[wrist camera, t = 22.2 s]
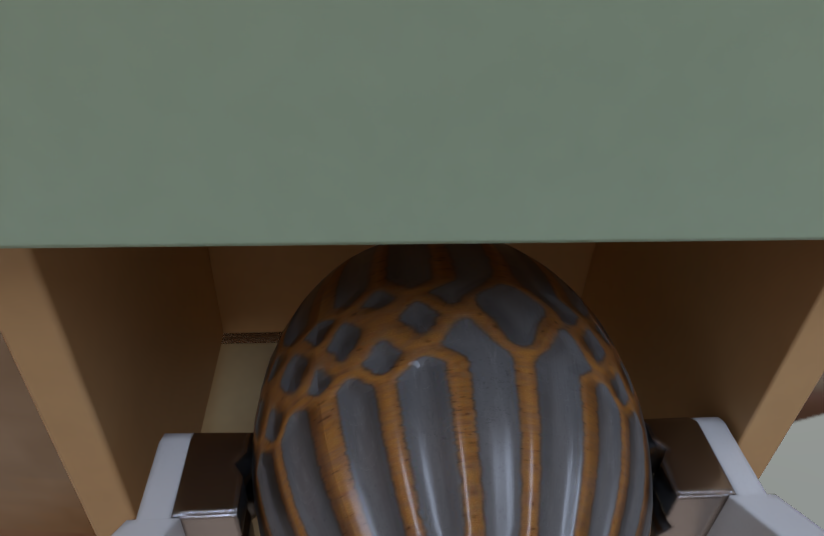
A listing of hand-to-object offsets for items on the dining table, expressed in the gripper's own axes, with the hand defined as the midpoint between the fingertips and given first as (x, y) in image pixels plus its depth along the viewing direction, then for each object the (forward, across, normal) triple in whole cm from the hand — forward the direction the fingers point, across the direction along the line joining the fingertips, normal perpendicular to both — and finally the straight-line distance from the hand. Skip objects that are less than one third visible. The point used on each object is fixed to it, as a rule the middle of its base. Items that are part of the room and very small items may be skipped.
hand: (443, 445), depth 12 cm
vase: (+4, 0, 0) cm, 4 cm away
